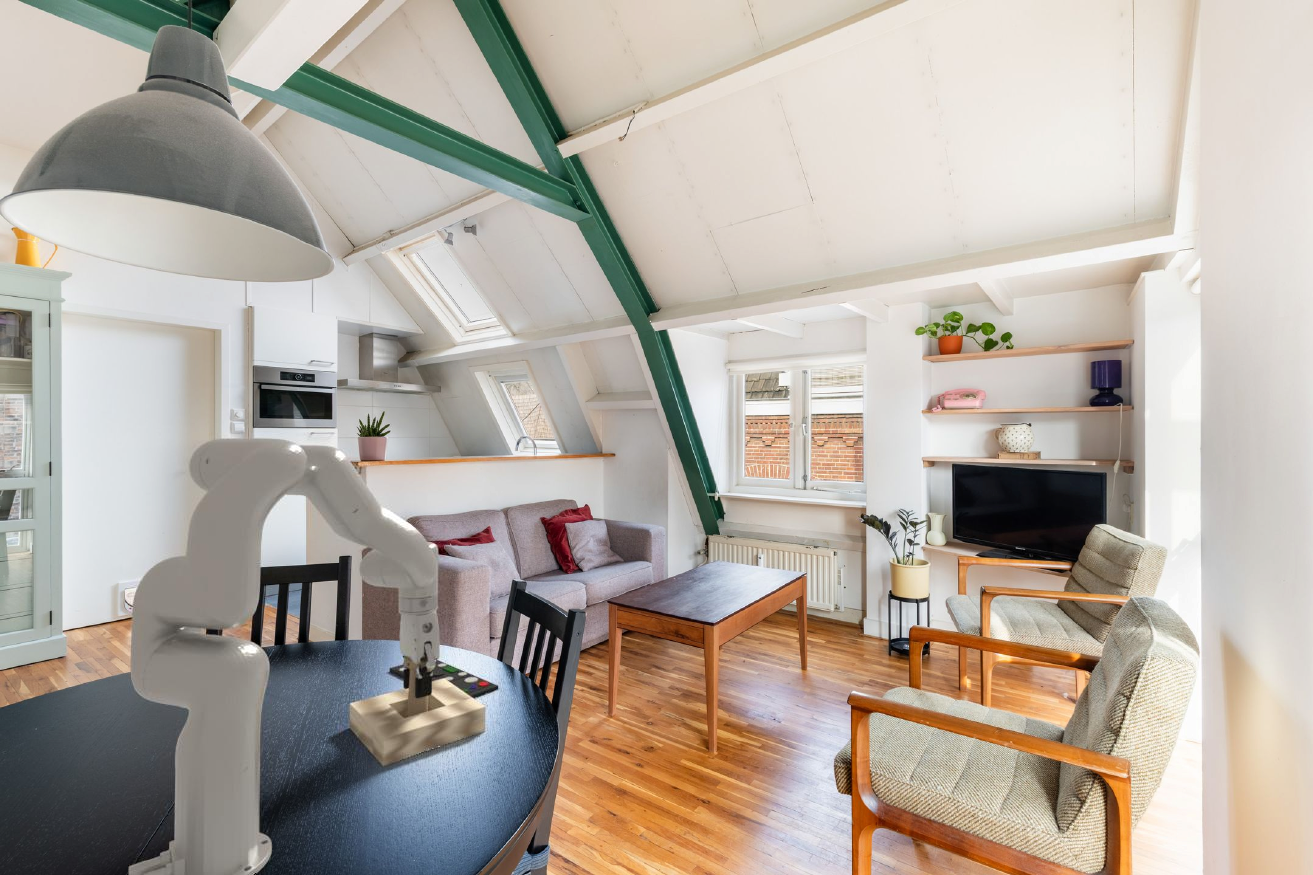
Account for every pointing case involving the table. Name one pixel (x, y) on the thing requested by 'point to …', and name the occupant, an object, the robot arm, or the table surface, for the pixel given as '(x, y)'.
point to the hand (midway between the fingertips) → (417, 690)
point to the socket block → (415, 722)
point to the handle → (414, 704)
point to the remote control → (456, 679)
